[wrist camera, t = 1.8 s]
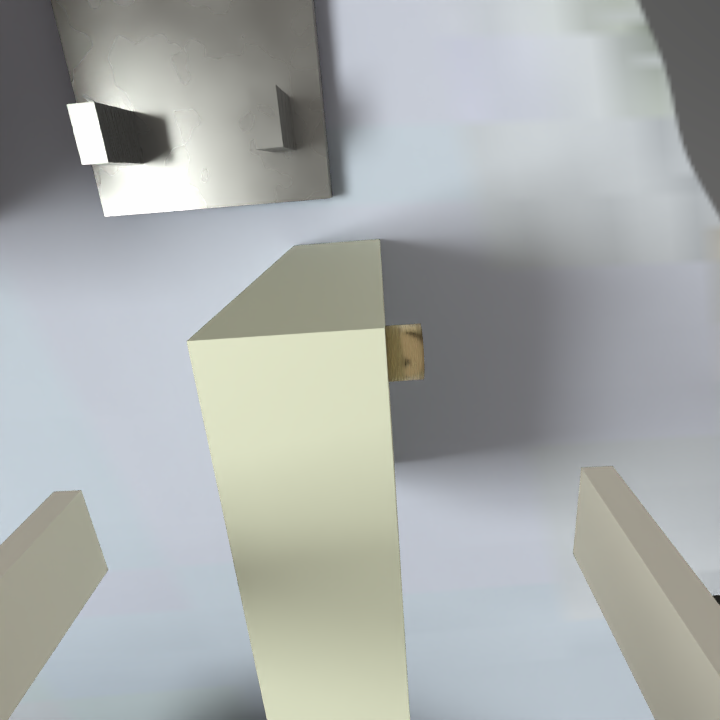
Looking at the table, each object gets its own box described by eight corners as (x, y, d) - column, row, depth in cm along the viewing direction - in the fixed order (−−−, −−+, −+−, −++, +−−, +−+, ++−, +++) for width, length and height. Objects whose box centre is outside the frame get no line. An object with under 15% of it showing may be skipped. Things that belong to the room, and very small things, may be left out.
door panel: (412, 462, 27) (446, 734, 14) (321, 467, 27) (270, 738, 14) (401, 237, 23) (435, 324, 10) (293, 245, 23) (186, 341, 10)
